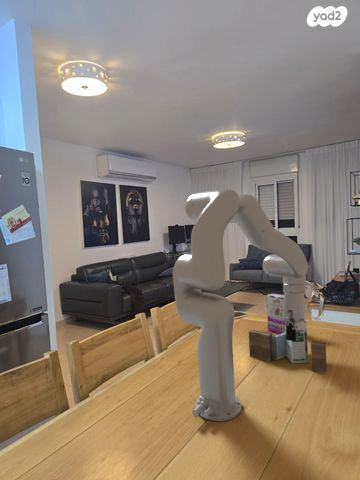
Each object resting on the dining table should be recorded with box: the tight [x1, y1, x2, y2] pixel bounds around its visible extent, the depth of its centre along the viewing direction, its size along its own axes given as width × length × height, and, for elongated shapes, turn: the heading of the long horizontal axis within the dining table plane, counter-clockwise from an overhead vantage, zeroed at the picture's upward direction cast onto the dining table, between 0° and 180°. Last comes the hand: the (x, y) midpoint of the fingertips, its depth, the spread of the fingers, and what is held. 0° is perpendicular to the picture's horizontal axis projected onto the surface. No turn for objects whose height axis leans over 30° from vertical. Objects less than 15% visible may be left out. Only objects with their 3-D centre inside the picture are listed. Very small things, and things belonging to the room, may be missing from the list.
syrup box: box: [285, 319, 309, 364], centre depth 111 cm, size 6×6×14 cm
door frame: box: [248, 329, 328, 375], centre depth 109 cm, size 3×26×10 cm, turn 53°
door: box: [272, 332, 287, 361], centre depth 115 cm, size 2×13×9 cm, turn 122°
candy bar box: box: [266, 292, 286, 335], centre depth 137 cm, size 11×5×16 cm, turn 37°
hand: (295, 335), depth 111 cm, fingers open, 9 cm apart
